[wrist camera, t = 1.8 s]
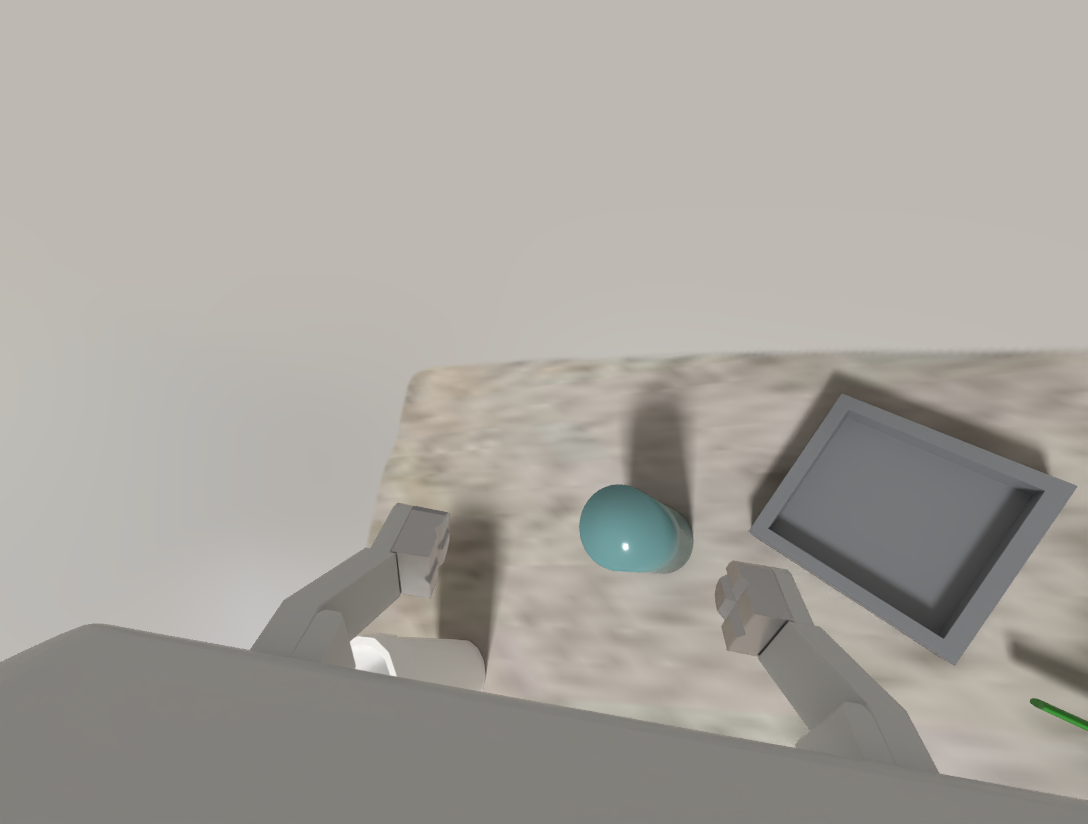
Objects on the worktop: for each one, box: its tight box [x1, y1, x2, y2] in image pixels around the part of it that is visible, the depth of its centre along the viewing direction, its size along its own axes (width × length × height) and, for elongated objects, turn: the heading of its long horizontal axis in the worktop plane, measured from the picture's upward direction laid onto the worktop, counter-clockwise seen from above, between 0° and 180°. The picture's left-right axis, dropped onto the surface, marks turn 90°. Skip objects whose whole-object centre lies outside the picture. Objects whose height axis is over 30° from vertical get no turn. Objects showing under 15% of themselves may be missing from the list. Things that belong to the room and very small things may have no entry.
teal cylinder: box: [579, 485, 693, 574], centre depth 35 cm, size 6×6×11 cm
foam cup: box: [350, 633, 486, 692], centre depth 39 cm, size 10×9×13 cm
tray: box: [749, 394, 1077, 665], centre depth 30 cm, size 13×13×3 cm
